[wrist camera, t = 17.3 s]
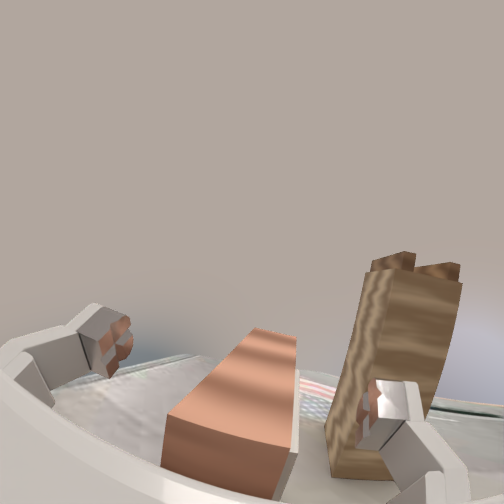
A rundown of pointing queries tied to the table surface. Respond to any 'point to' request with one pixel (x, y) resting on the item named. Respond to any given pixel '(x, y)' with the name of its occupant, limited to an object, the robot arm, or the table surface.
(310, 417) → the table surface
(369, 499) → the table surface
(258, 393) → the bar
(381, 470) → the chute stand
